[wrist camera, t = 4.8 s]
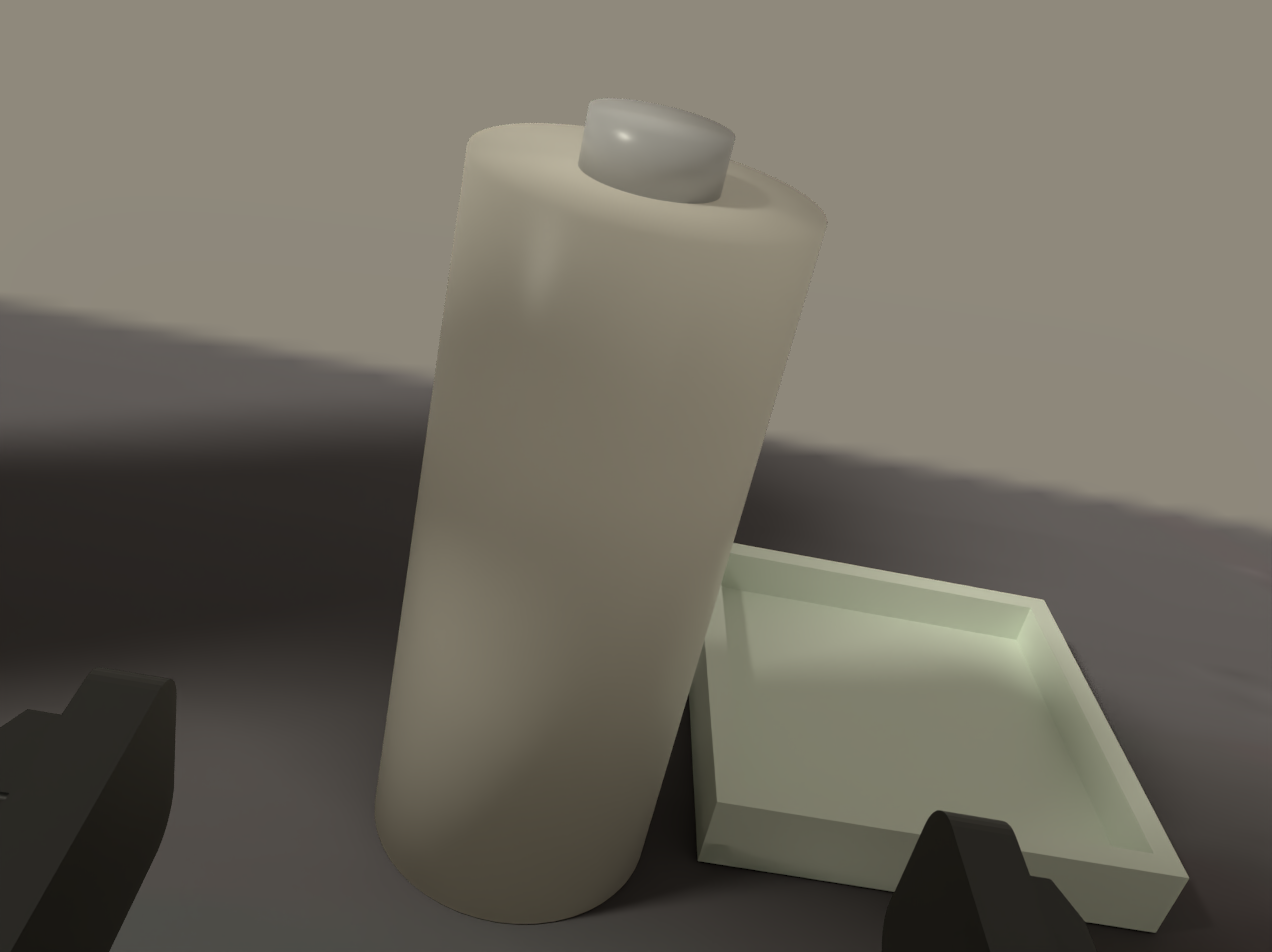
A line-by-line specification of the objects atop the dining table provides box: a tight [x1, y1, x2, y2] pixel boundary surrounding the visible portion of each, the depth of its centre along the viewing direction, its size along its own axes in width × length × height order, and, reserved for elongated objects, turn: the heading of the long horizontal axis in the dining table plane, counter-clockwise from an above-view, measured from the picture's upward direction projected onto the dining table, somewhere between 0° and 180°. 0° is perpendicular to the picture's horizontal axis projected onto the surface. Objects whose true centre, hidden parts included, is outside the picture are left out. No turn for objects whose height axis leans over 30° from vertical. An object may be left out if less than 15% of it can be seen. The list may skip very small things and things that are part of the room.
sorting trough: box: [689, 543, 1189, 933], centre depth 26 cm, size 9×9×2 cm
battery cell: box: [375, 98, 828, 924], centre depth 19 cm, size 5×5×13 cm
